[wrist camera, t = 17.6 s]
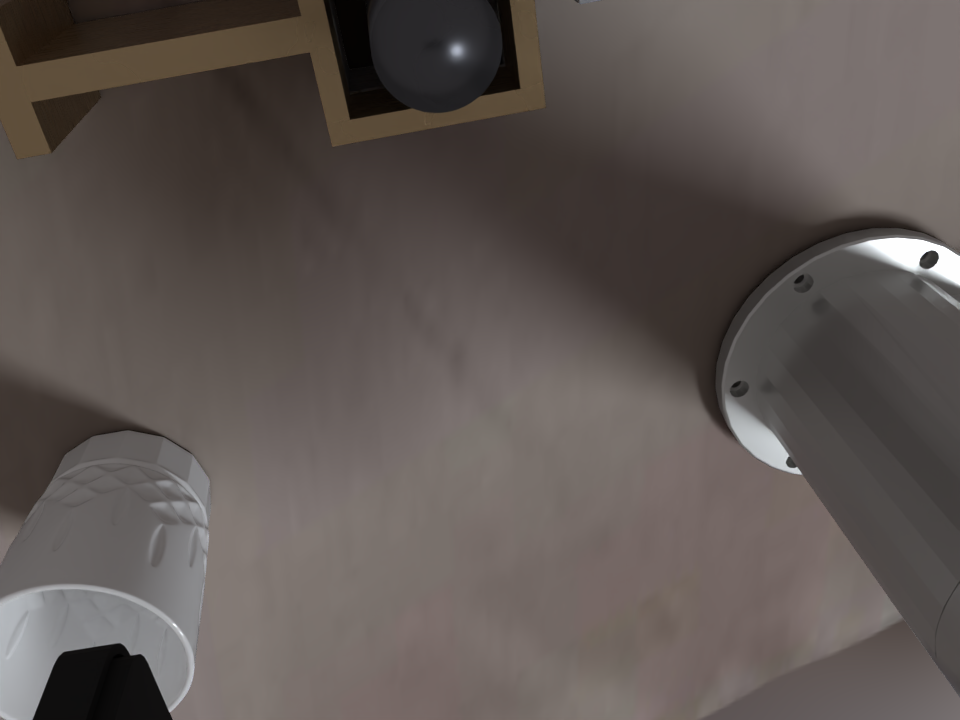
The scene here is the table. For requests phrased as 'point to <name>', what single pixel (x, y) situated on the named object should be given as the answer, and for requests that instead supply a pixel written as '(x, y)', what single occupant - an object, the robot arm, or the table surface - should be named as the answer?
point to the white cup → (107, 566)
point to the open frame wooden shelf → (221, 64)
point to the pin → (434, 50)
